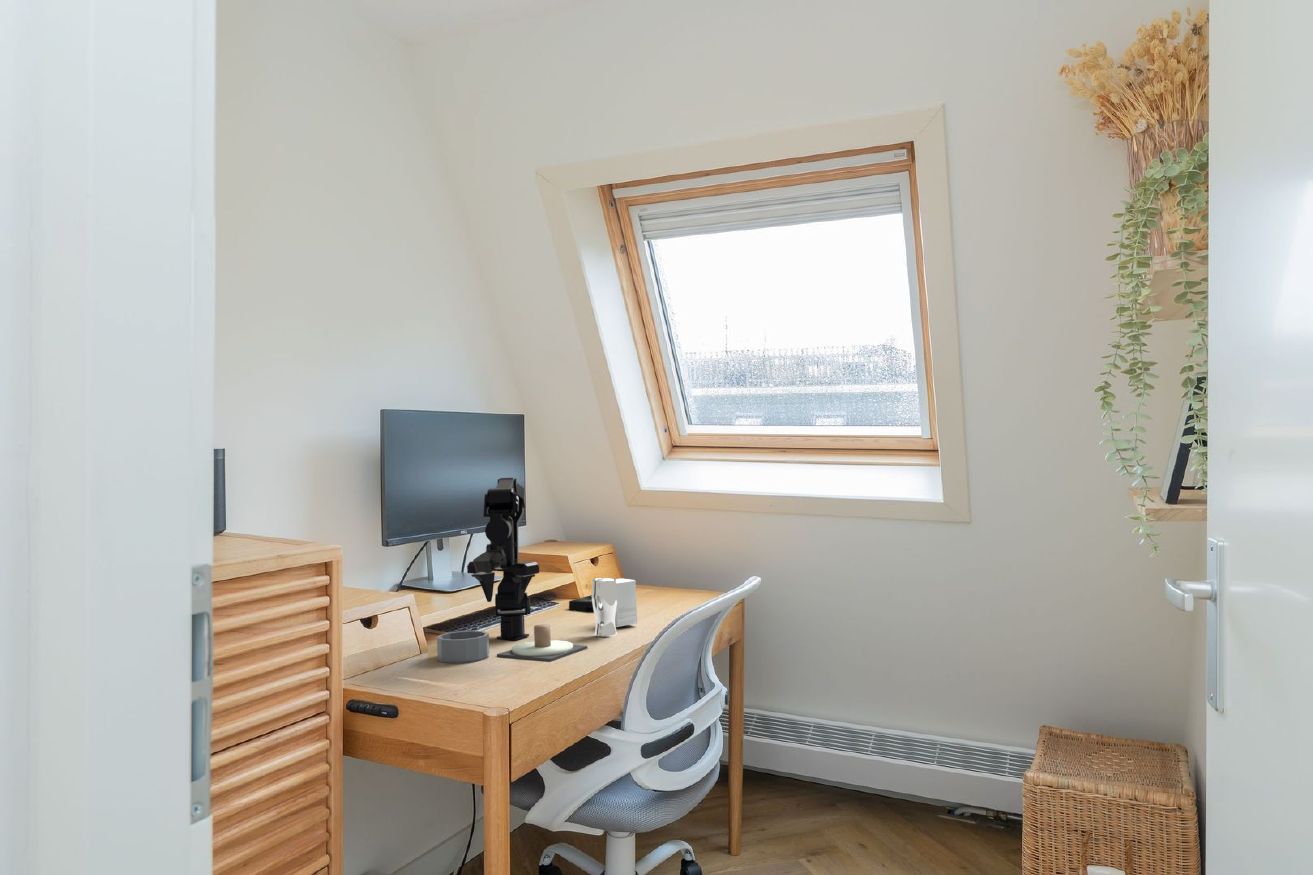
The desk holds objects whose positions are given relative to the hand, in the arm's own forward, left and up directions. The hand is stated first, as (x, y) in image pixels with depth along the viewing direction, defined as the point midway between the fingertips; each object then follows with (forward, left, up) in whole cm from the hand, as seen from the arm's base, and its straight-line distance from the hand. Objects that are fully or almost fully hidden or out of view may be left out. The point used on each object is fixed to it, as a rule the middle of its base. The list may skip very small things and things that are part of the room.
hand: (503, 602), depth 224 cm
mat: (-6, +7, -13) cm, 16 cm away
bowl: (+6, -8, -13) cm, 16 cm away
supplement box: (-47, +5, -13) cm, 49 cm away
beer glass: (-31, +10, -13) cm, 35 cm away
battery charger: (-67, -17, -13) cm, 70 cm away
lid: (-6, +7, -12) cm, 15 cm away
